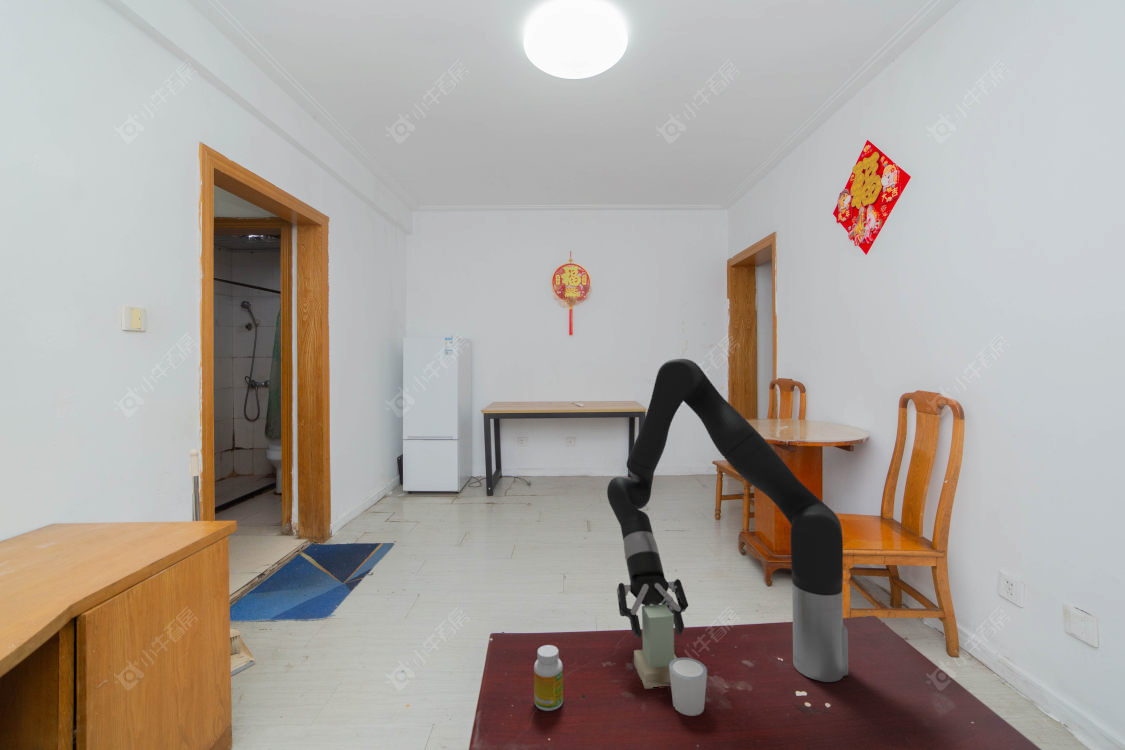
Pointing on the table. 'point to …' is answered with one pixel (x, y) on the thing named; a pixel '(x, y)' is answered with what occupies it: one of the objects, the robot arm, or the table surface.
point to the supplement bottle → (548, 679)
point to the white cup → (688, 685)
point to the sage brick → (658, 635)
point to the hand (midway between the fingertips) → (659, 635)
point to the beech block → (651, 672)
